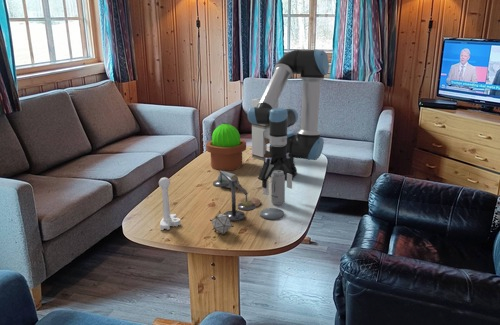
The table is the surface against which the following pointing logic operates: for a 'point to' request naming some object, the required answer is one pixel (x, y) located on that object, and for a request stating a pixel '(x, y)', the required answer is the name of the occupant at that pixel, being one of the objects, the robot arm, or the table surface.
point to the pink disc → (254, 201)
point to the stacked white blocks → (260, 137)
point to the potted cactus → (226, 148)
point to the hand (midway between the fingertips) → (277, 191)
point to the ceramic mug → (230, 177)
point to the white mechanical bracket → (167, 207)
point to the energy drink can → (277, 187)
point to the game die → (221, 223)
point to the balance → (245, 203)
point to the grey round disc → (272, 213)
